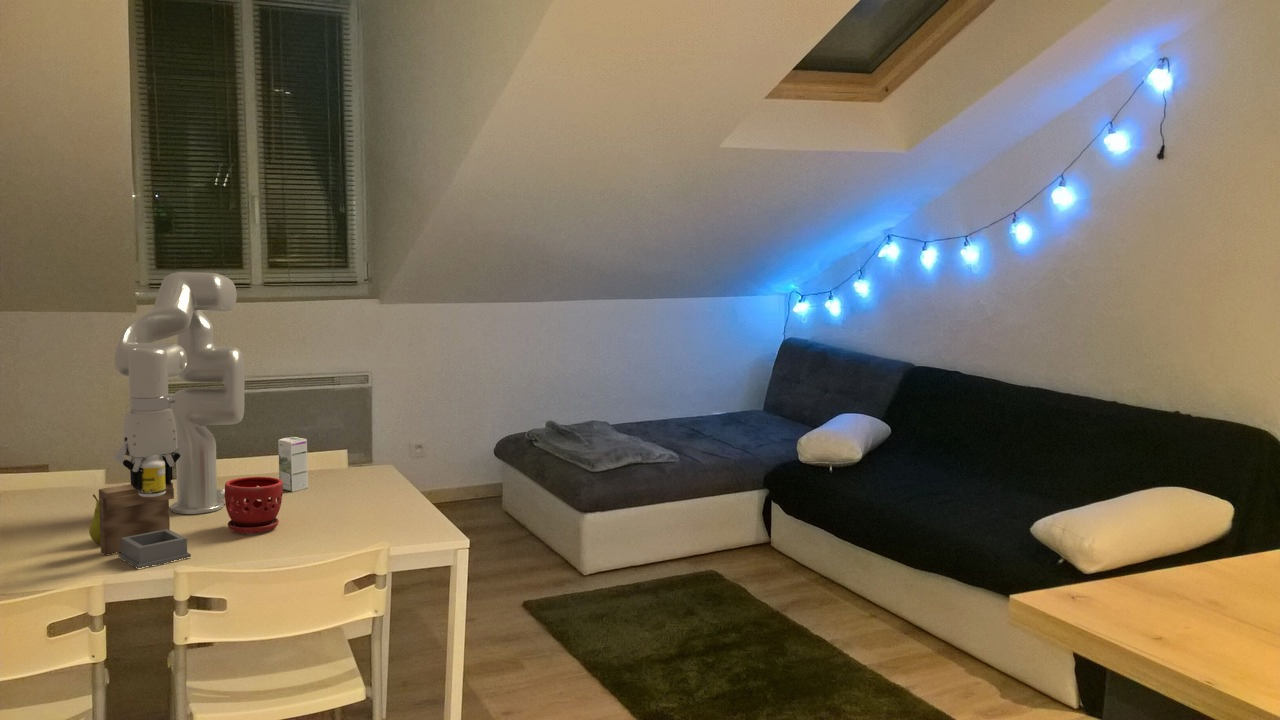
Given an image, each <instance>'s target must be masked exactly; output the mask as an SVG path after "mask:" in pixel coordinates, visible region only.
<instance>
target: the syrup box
mask: <svg viewBox="0 0 1280 720" xmlns="http://www.w3.org/2000/svg"><path fill="white" fill-rule="evenodd" d="M277 441H278V447H277V448H278V475H279V476H278V479H280V480H282V482H283V491H287V492H290V493H291V492H292V493H294V492H298V491H299V490H300V491H303V489H304V490H307V489H309V481H308V479H309V478H308V477H309V476H308V475H309V473H308V441H307V438H301V437H297V436H289V437H283V438H280V439H278V440H277Z"/></svg>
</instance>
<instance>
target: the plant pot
mask: <svg viewBox="0 0 1280 720" xmlns="http://www.w3.org/2000/svg"><path fill="white" fill-rule="evenodd" d="M224 489H225V497H224V504H225V508H226V512H227V514H228V516H229V518H230V520H229V521H228V522H227V526H228V528H229V529H230V530H231V531H232V532H234V533H237V534H243V535H251V534H252V535H253V534H254V535H255V534H262V533H266V532H269V531H272V530H274V529H275V528H276V527H277V526H278V525H279V522H280V521H279V518H278V514H279V512H280V509H281V507H282V501H283V491H284V490H283V482H282V480H280V479H279V478H276V477H269V476H248V477H246V476H245V477H241V478H240V477H239V478H234V479H231V480H227V481H226V482H225V484H224Z"/></svg>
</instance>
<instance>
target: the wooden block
mask: <svg viewBox="0 0 1280 720" xmlns="http://www.w3.org/2000/svg"><path fill="white" fill-rule="evenodd" d="M174 489H175V488H174V483H173V482H172V481H171V485H166V493H165V494H163V495H160V496H156V497H143V496H140V495H139V493H138V490H137V489H135V488H133V486H132V485H131V483H129V484H124V485H118V486H110V487H105V488H99V489H98V500H99V514H100V539H101V544H100V554H102V553H103V554H104V556H105V555H106V556H108V555H107V554H111V555H113V554H112V553H116V552H121V538H123V537H128V536H133V535H139V534H144V533H149V532H154V531H159V530H164V529H169V530H171V528H170V526H171V525H170V500H173V499H175V495H174V494H175V493H174V491H175V490H174ZM103 554H102V555H103ZM116 554H117V553H116Z"/></svg>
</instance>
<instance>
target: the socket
mask: <svg viewBox="0 0 1280 720" xmlns="http://www.w3.org/2000/svg"><path fill="white" fill-rule="evenodd" d="M117 557H120V558H121V559H123V560H125V561H127V562H128V563H130V564H132V565H133V566H135V567H137V568H142V567H146V566H152V565H158V566H160V565H159V564H162V565H165V564H164V563H167V562H171V561H174V560H179V559H182V558H183V559H184V558H187V557H192V555H191V553H190V552H189V551H188V538H187V537H185V536H182V535H181V534H179V533H177V532H175V531H172V530H171V529H170V530H169V529H164V530H159V531H154V532H149V533H144V534H139V535H133V536H128V537H123V538H121V553H117ZM120 558H119V559H120ZM121 559H120V560H121ZM123 560H122V561H123ZM125 561H124V562H125ZM128 563H127V564H128ZM130 564H129V565H130ZM167 564H168V563H167ZM133 566H132V567H133ZM135 567H134V568H135Z"/></svg>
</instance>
